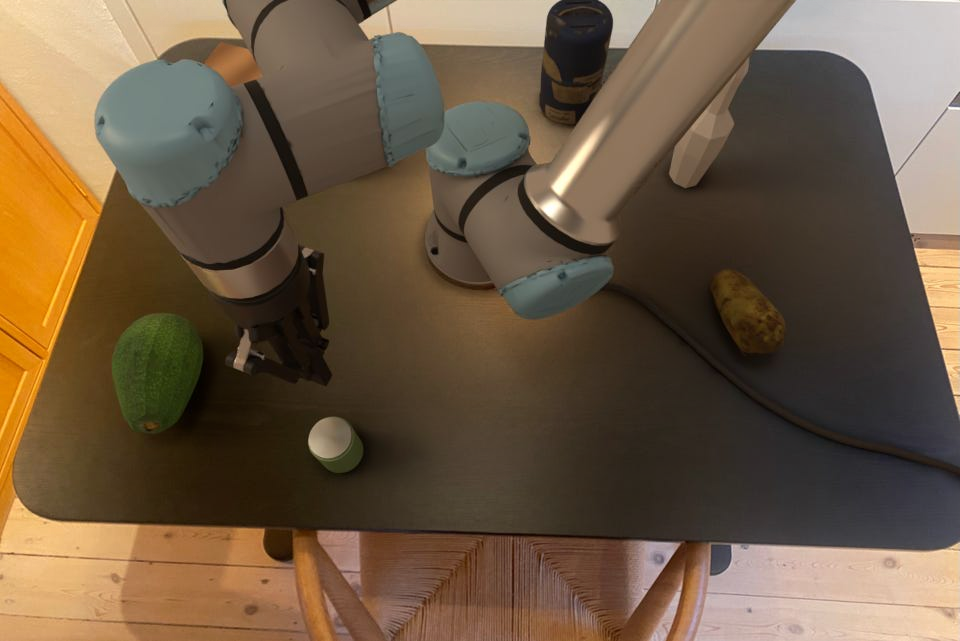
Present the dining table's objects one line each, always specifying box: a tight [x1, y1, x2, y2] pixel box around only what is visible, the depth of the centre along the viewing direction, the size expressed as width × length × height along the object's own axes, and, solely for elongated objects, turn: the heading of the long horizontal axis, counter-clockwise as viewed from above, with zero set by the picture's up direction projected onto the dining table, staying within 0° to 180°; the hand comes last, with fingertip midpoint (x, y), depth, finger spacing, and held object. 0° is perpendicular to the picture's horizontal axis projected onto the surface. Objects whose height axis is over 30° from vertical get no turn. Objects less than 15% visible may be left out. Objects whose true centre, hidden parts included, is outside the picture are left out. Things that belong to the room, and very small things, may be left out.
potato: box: [710, 268, 787, 357], centre depth 78 cm, size 8×13×8 cm, turn 171°
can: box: [307, 416, 364, 474], centre depth 71 cm, size 5×5×6 cm
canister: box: [538, 0, 614, 125], centre depth 91 cm, size 10×10×18 cm
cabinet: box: [203, 41, 263, 87], centre depth 93 cm, size 15×13×10 cm
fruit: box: [111, 312, 204, 435], centre depth 73 cm, size 15×10×10 cm, turn 1°
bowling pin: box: [668, 56, 751, 189], centre depth 83 cm, size 6×6×22 cm
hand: (318, 376), depth 66 cm, fingers closed
